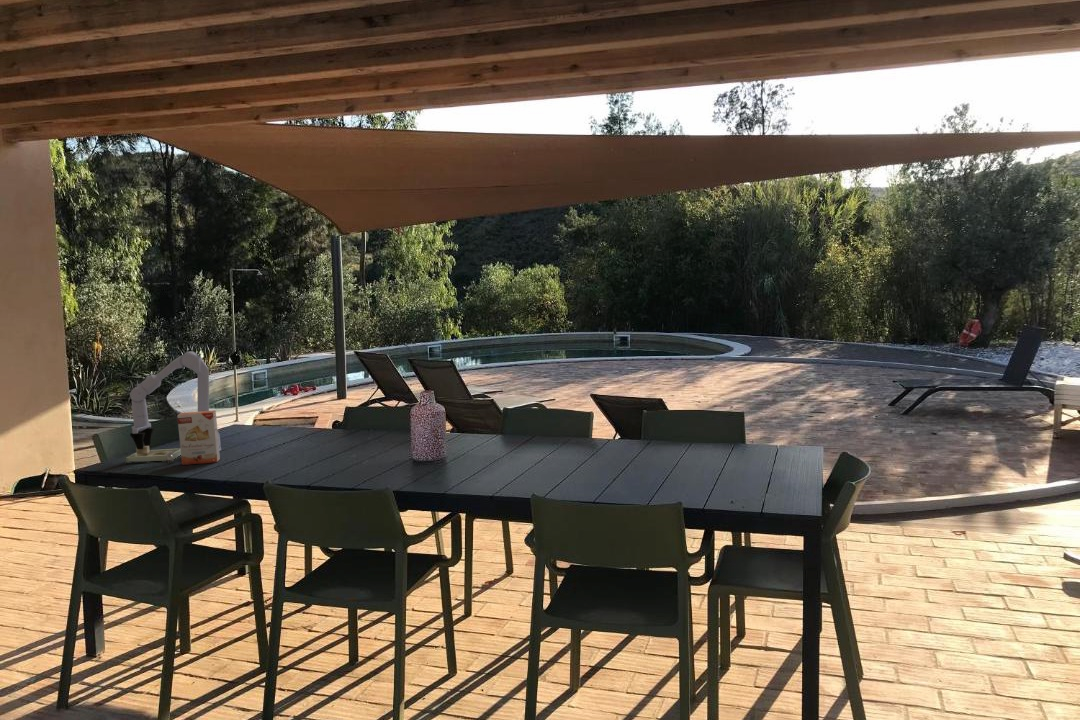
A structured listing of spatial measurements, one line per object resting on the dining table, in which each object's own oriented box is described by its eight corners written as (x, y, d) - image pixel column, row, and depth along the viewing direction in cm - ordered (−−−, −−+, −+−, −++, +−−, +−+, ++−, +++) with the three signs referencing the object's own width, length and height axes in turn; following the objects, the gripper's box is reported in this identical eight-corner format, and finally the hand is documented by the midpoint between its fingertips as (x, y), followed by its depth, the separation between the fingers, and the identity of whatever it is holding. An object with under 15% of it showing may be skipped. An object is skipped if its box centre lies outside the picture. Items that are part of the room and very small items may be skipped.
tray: (184, 453, 380) (183, 448, 379) (172, 460, 366) (171, 454, 366) (139, 456, 379) (139, 450, 379) (126, 463, 365) (125, 457, 365)
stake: (174, 462, 363) (173, 451, 362) (170, 464, 358) (169, 453, 358) (170, 462, 363) (168, 451, 362) (166, 464, 358) (164, 453, 358)
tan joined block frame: (174, 454, 377) (173, 442, 377) (166, 458, 368) (165, 447, 368) (142, 456, 377) (141, 444, 376) (133, 460, 368) (132, 449, 367)
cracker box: (181, 465, 355) (176, 414, 353) (185, 462, 361) (180, 412, 359) (217, 462, 357) (212, 411, 355) (220, 459, 363) (215, 409, 361)
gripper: (137, 413, 377) (141, 444, 379) (123, 419, 363) (127, 451, 364) (154, 412, 378) (157, 443, 379) (140, 418, 363) (144, 450, 365)
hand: (143, 447), depth 372 cm, fingers open, 7 cm apart
